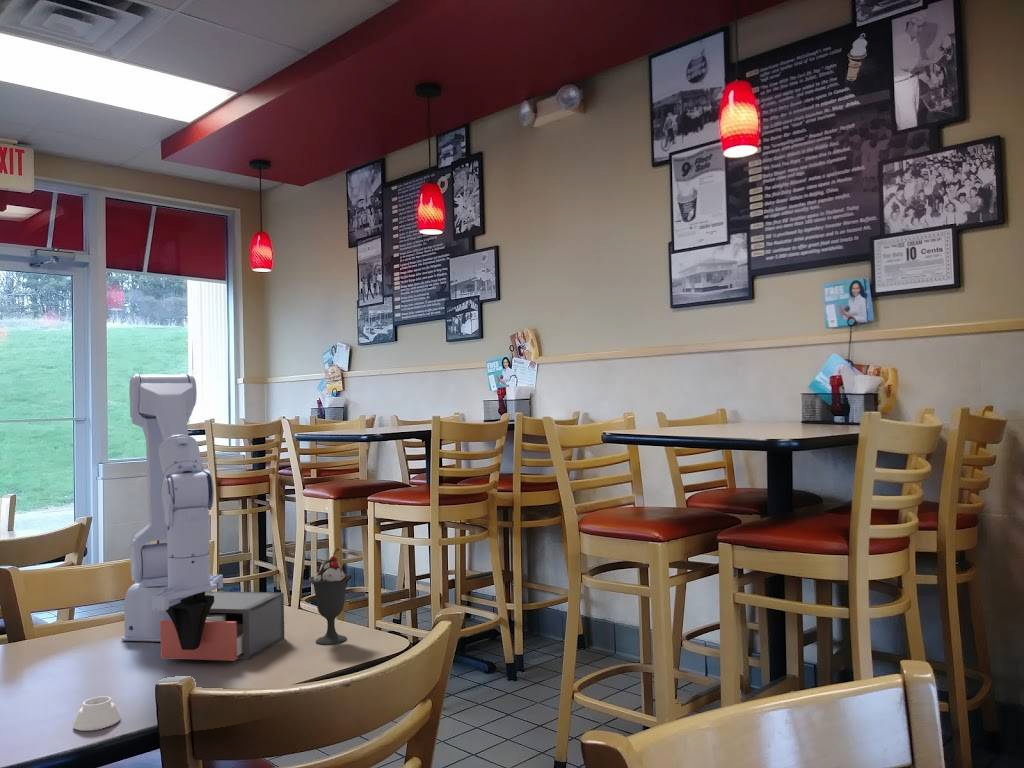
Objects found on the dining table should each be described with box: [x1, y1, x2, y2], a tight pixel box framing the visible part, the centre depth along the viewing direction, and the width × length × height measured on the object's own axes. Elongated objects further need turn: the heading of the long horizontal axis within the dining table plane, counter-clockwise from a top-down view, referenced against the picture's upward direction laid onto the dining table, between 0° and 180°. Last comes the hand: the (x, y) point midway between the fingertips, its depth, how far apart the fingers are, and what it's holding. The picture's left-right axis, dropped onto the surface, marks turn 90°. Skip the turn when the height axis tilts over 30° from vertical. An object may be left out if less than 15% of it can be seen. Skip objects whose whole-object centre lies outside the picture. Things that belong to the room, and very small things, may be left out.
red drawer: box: [160, 620, 243, 662], centre depth 123 cm, size 12×11×6 cm
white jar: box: [72, 695, 122, 732], centre depth 96 cm, size 5×3×5 cm
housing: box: [205, 591, 285, 660], centre depth 126 cm, size 13×11×7 cm
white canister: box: [206, 613, 226, 621], centre depth 121 cm, size 5×5×5 cm
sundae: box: [308, 547, 352, 646], centre depth 128 cm, size 7×7×15 cm
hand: (190, 648), depth 116 cm, fingers closed
